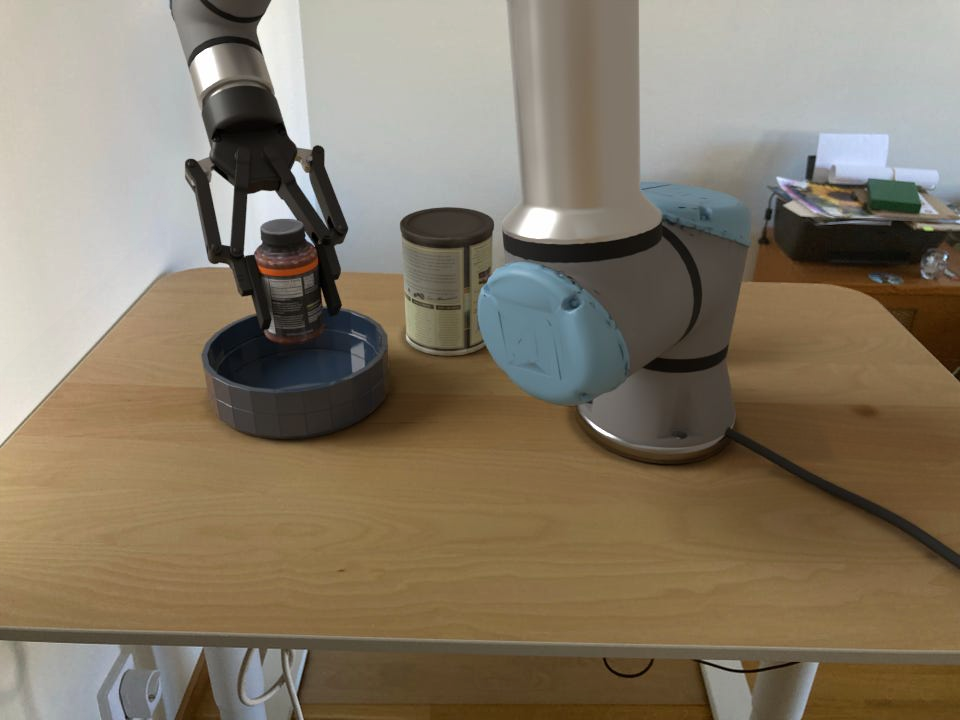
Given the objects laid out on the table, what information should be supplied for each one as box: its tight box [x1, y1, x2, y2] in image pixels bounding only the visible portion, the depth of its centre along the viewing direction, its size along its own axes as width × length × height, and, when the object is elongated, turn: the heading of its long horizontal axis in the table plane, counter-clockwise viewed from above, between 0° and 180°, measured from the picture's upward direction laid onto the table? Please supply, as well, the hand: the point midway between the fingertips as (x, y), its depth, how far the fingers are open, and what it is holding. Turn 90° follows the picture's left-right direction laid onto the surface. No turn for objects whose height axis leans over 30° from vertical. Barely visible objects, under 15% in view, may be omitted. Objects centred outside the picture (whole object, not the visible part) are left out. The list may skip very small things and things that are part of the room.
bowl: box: [200, 305, 391, 440], centre depth 79 cm, size 18×18×6 cm
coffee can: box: [399, 206, 495, 357], centre depth 88 cm, size 10×10×14 cm
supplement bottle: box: [253, 218, 324, 345], centre depth 75 cm, size 6×6×11 cm
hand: (301, 317), depth 73 cm, fingers closed on supplement bottle, 6 cm apart
